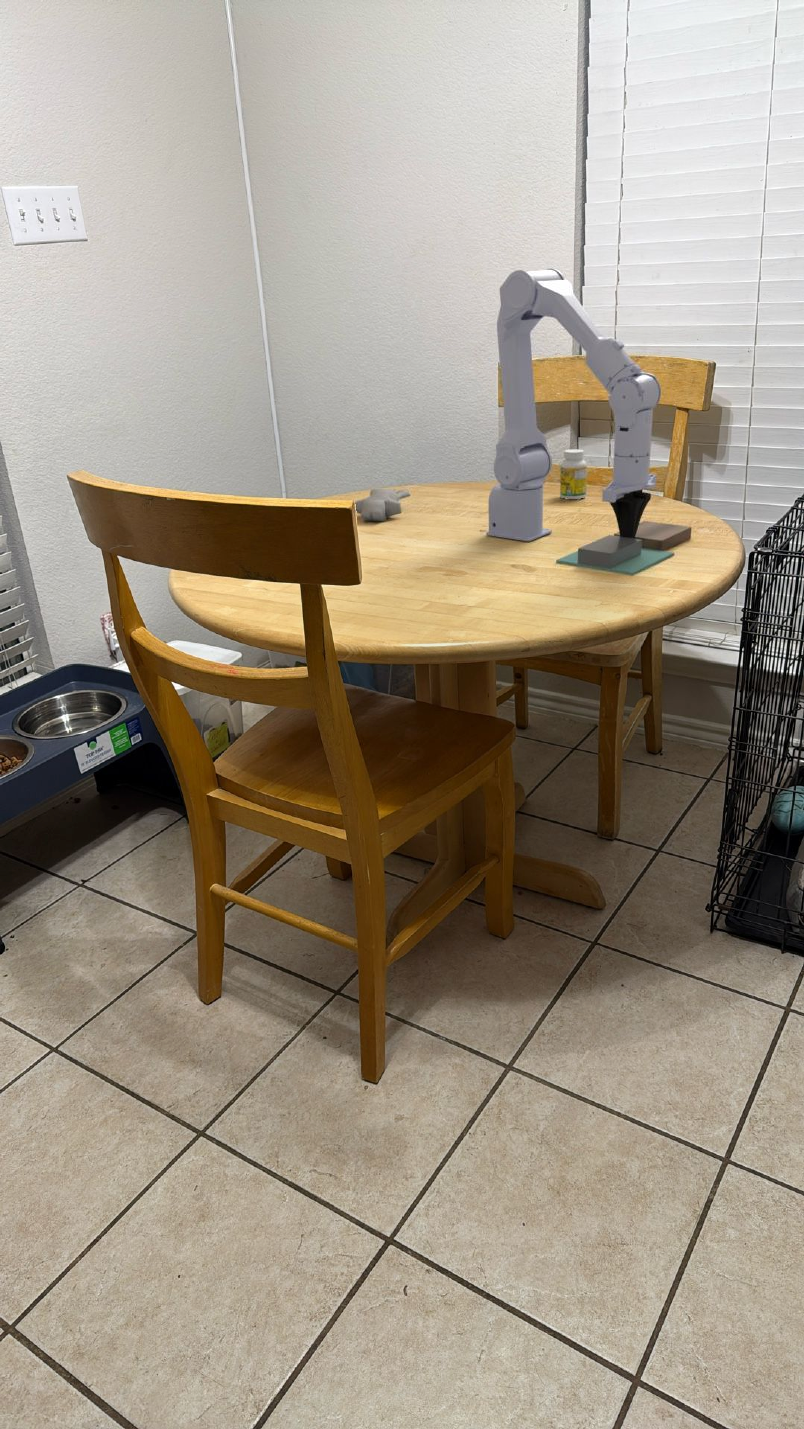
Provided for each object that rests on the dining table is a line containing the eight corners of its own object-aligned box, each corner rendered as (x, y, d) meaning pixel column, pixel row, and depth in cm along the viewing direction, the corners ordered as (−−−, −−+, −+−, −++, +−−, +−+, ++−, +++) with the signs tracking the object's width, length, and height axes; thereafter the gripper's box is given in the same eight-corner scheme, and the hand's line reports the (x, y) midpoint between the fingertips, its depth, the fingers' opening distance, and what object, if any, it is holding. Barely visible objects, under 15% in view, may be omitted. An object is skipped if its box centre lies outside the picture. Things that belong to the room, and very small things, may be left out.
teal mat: (556, 562, 159) (556, 560, 159) (599, 543, 169) (599, 541, 169) (632, 575, 151) (633, 572, 151) (674, 554, 160) (674, 552, 160)
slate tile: (577, 563, 157) (578, 548, 156) (608, 549, 164) (609, 535, 163) (610, 568, 153) (611, 553, 152) (641, 554, 160) (641, 539, 159)
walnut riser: (613, 545, 168) (613, 533, 167) (643, 531, 175) (644, 520, 174) (661, 552, 162) (662, 540, 161) (690, 538, 170) (691, 526, 169)
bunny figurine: (346, 503, 190) (370, 479, 202) (349, 528, 193) (372, 503, 205) (392, 504, 187) (414, 480, 200) (394, 529, 190) (415, 504, 202)
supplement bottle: (590, 498, 203) (592, 451, 199) (568, 501, 201) (569, 454, 197) (577, 493, 207) (578, 447, 203) (555, 496, 206) (556, 450, 202)
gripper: (632, 463, 149) (627, 550, 154) (675, 449, 158) (670, 531, 164) (592, 460, 153) (589, 544, 158) (636, 446, 163) (632, 526, 168)
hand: (627, 537), depth 161 cm, fingers closed
